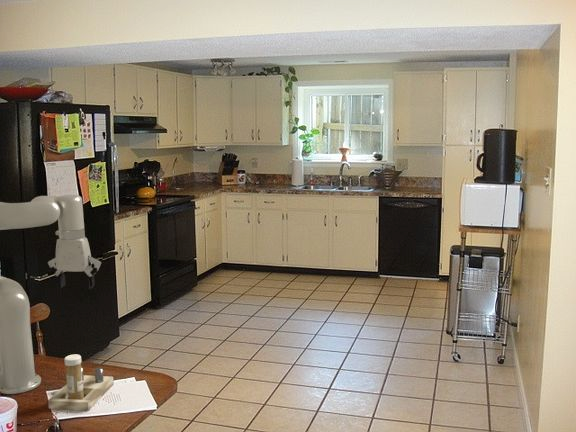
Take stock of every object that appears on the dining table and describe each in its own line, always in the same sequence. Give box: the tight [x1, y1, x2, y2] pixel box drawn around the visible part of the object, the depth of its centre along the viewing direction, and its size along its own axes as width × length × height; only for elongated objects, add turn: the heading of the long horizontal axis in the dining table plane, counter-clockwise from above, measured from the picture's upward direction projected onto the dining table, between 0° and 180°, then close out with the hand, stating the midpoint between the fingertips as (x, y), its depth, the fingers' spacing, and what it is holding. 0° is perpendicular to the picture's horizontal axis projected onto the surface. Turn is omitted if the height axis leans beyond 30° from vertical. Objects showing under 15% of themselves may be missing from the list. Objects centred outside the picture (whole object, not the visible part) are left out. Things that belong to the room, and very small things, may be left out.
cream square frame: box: [47, 365, 114, 412], centre depth 183 cm, size 12×17×6 cm
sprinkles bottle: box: [64, 353, 84, 400], centre depth 179 cm, size 5×5×14 cm
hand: (76, 287), depth 196 cm, fingers open, 9 cm apart
